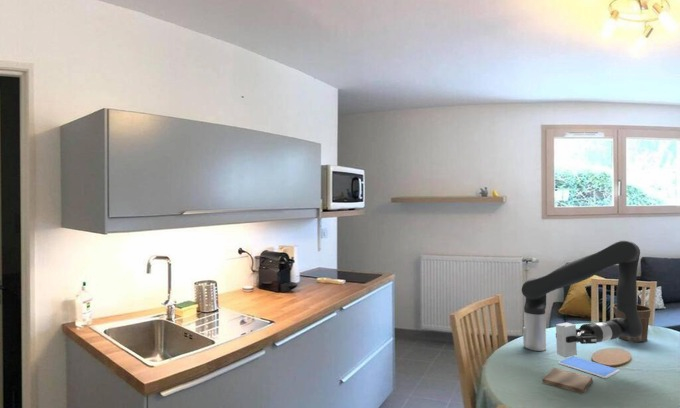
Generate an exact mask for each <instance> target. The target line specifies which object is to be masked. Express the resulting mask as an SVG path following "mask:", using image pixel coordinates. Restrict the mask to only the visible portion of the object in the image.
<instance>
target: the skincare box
mask: <svg viewBox="0 0 680 408" xmlns="http://www.w3.org/2000/svg"><path fill="white" fill-rule="evenodd" d="M576 329H577V327H576V324H574V323H571V322H563V323H557V324H555V339H556V355H558V356H560V357H563V358H569V357H571V356H577V355H578V354H577V353H578V350H577V342H571V343H567V342H566V337H568V336H575V335H576Z"/></svg>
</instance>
